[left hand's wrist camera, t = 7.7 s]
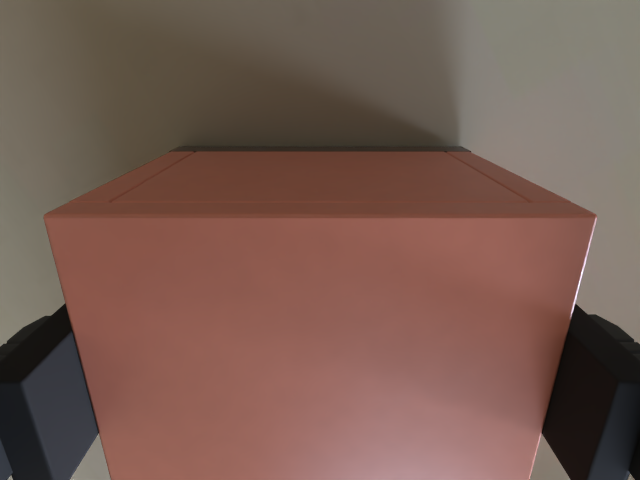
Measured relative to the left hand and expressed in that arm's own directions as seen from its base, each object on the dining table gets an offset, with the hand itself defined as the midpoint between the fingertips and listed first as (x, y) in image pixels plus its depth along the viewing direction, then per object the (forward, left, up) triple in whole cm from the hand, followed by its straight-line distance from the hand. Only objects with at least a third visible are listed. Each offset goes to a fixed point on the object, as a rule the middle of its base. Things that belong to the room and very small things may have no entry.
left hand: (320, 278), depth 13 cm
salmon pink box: (+6, -2, -3) cm, 7 cm away
